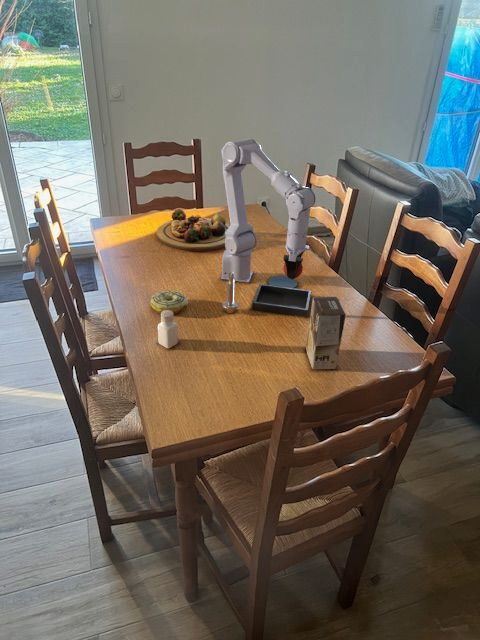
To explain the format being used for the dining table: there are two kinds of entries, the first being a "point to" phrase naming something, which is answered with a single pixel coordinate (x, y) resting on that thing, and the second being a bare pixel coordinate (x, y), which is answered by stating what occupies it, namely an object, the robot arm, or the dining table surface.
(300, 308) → the tray
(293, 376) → the dining table surface
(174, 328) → the salt shaker
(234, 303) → the screw
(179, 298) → the decorated donut
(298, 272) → the onion
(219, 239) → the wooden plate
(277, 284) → the mat
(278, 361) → the dining table surface
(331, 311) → the coffee box
